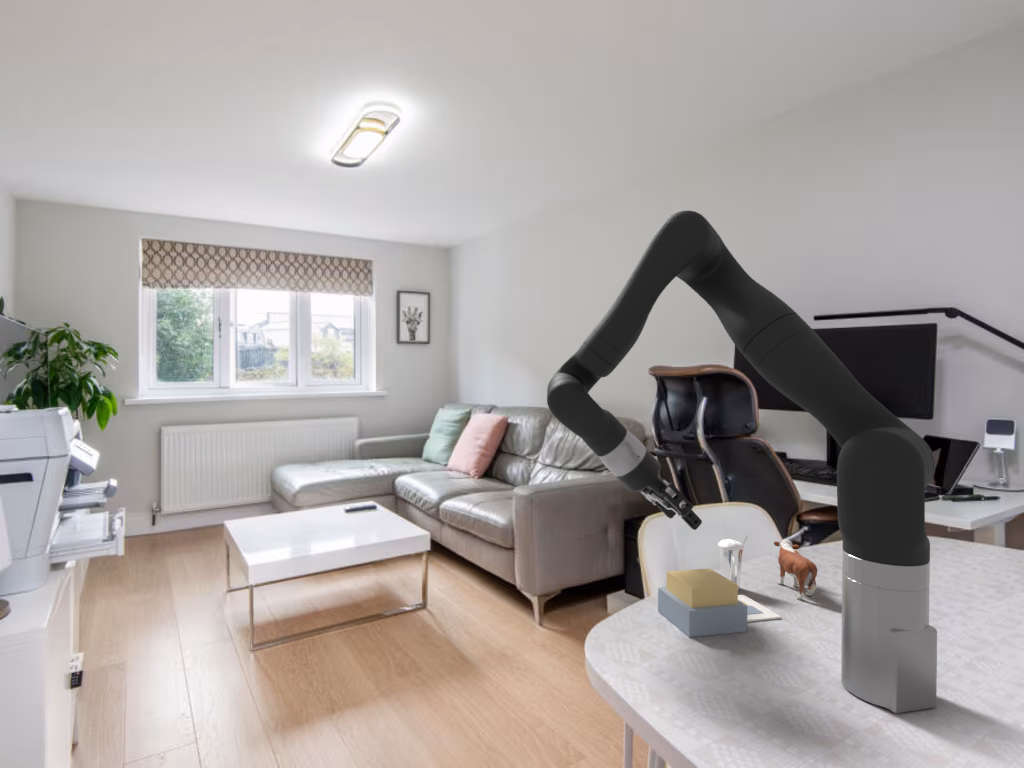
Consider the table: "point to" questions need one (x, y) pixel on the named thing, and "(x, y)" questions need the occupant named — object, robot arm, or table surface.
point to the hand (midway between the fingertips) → (685, 520)
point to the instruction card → (757, 610)
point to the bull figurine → (796, 568)
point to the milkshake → (731, 559)
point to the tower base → (702, 616)
